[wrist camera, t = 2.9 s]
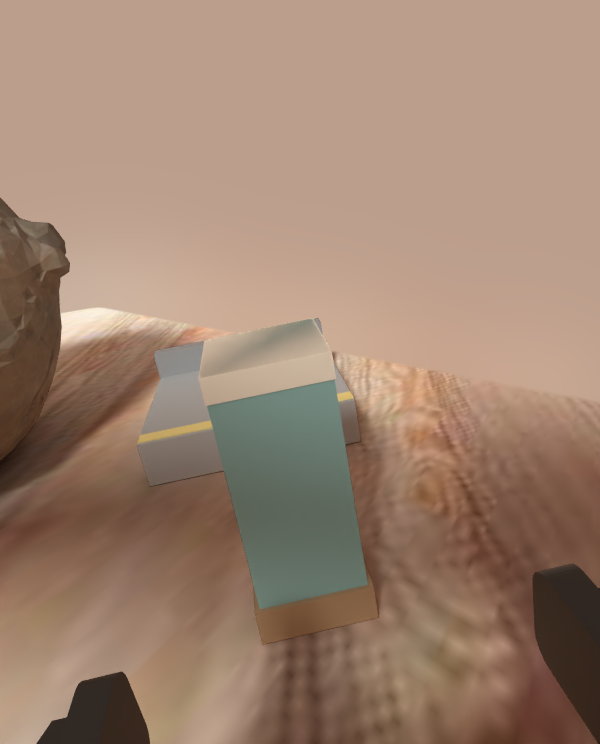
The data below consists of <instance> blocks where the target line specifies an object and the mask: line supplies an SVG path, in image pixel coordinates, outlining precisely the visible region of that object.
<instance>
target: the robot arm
mask: <svg viewBox="0 0 600 744" xmlns="http://www.w3.org/2000/svg"><path fill="white" fill-rule="evenodd" d="M533 603H534V625H535V635H536V639H537V643H538V646H539V649H540V651H541V654H542V656H543V658H544V660H545V662H546V664H547V666H548V667H549V669H550V670H551V672H552V673H553V675H554V676H555V678H556V680H557V681H558V683H559V684H560V686H561V687H562V689H563V690H564V692H565V693H566V695H567V696H568V698H569V699H570V701H571V703H572V704H573V706H574V707H575V709H576V710H577V712H578V713H579V715H580V716H581V718H582V719H583V721H584V722H585V724H586V726H587V727H588V729H589V730H590V732H591V733H592V735H593V736H594V738H595V739H596V741H597V742H598V744H600V588H597V586H596V585H595V584H594V583H593V582H592V581H591V580H590V579H589V578H588V576H587V575H586V574H585V573H584V572H583V571H582V570H581V569H580V568H579V567H578V566H576V565H575V564H568V565H564V566H560V567H556V568H552V569H548V570H544V571H540V572H535V573H534V575H533ZM37 744H150V739H149V733H148V729H147V725H146V723H145V720H144V718H143V715H142V713H141V711H140V708H139V706H138V703H137V701H136V698H135V696H134V694H133V691H132V689H131V686H130V684H129V681H128V679H127V677H126V675H125V674H124V673H123V672H118V673H114V674H109V675H105V676H101V677H97V678H93V679H89V680H85V681H81V682H80V683H79V684H78V686H77V688H76V690H75V693H74V696H73V700H72V703H71V706H70V709H69V713H68V716H67V717H66V718H62V719H58V720H54V721H52V722H51V723H50V725H49V726H48V728H47V729H46V731H45V732H44V733H43V735H42V736H41V738H40V739H39V741H38V742H37Z"/></svg>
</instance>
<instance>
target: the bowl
mask: <svg viewBox="0 0 600 744" xmlns="http://www.w3.org/2000/svg"><path fill="white" fill-rule="evenodd" d="M65 254H66V249H65V241H64V240H63V239H62V237H61V236H60V235H59V233H58V232H57V231H56V229H55V228H54V227H53V226H52V225H51V224H50V223H41V222H31V221H27V220H23V219H21V218H19V217H18V216H17V215H16V214H15V213H14V212H13V210H11V208H10V207H8V205H7V204H6V203H5V202H4V201H3V200H2V199H1V198H0V461H1V460H2V459H3V458H4V457H6V456H7V455H8V454H9V453H10V452H11V451H12V450H13V449H14V448H15V447H16V446H17V445H18V444H19V442H20V441H21V440H22V439H23V438H24V437H25V436H26V434H27V433H28V432H29V430H30V429H31V428H32V426H33V425H34V424H35V422H36V421H37V420H38V418H39V416H40V413H41V410H42V408H43V405H44V402H45V400H46V397H47V395H48V392H49V389H50V386H51V383H52V380H53V377H54V373H55V369H56V364H57V360H58V355H59V350H60V341H61V327H62V326H61V316H60V306H59V305H60V304H59V287H60V278H61V277H62V276H64V275H65V274H66V273H68V272H69V268H70V263H69V261H68V259H67V258H66V257H65Z"/></svg>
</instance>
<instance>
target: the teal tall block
mask: <svg viewBox="0 0 600 744" xmlns="http://www.w3.org/2000/svg"><path fill="white" fill-rule="evenodd" d="M335 379H336V374H335V368H334V362H333V356H332V351H331V349H330V348H329V346H328V344H327V342H326V341H325V339H324V337H323V335H322V334H321V332H320V330H319V328H318V327H317V325H316V323H315V321H314V320H313V318H311V319H306V320H301V321H297V322H291V323H286V324H282V325H277V326H271V327H266V328H262V329H256V330H252V331H247V332H242V333H237V334H232V335H227V336H222V337H217V338H212V339H207V340H204V346H203V352H202V358H201V365H200V371H199V377H198V380H199V384H200V388H201V392H202V395H203V399H204V403H205V406H207V408H208V412H209V416H210V419H211V423H212V427H213V431H214V435H215V439H216V443H217V446H218V450H219V454H220V458H221V462H222V466H223V470H224V473H225V477H226V481H227V485H228V489H229V493H230V497H231V500H232V504H233V508H234V512H235V516H236V520H237V524H238V527H239V531H240V535H241V539H242V543H243V547H244V551H245V554H246V558H247V562H248V566H249V570H250V574H251V578H252V581H253V588H254V606H255V616H256V620H257V624H258V628H259V631H260V635H261V639H262V643H263V644H267V643H272V642H276V641H280V640H285V639H289V638H293V637H297V636H302V635H306V634H310V633H315V632H319V631H323V630H328V629H332V628H336V627H340V626H345V625H349V624H353V623H358V622H362V621H366V620H370V619H375V618H379V616H378V610H377V603H376V597H375V591H374V586H373V583H372V580H371V577H370V574H369V571H368V569H367V566H366V563H365V560H364V557H363V552H362V545H361V539H360V533H359V527H358V521H357V515H356V508H355V502H354V496H353V490H352V484H351V477H350V471H349V465H348V459H347V453H346V447H345V440H344V434H343V428H342V422H341V416H340V409H339V403H338V397H337V391H336V385H335Z"/></svg>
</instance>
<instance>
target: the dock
mask: <svg viewBox="0 0 600 744" xmlns="http://www.w3.org/2000/svg"><path fill="white" fill-rule="evenodd" d="M313 320H314V321H315V323H316V325H317V327H318V328H319V330H320V332H321V334H322V328H321V322H320V320H319V318H315V319H313ZM203 346H204V341H201V342H196V343H191V344H186V345H181V346H176V347H171V348H166V349H161V350H156V351H155V353H154V358H155V362H156V365H157V369H158V372H159V376H160V381H159V384H158V387H157V390H156V393H155V395H154V398H153V401H152V404H151V407H150V410H149V413H148V416H147V418H146V421H145V424H144V427H143V430H142V433H141V435H140V436H139V439H138V442H137V443H138V444H137V447H138V451H139V454H140V457H141V460H142V463H143V466H144V469H145V473H146V476H147V479H148V482H149V485H150V486H154V485H159V484H163V483H168V482H173V481H177V480H182V479H187V478H191V477H196V476H201V475H205V474H210V473H215V472H219V471H224V470H223V466H222V462H221V458H220V454H219V450H218V446H217V443H216V439H215V435H214V431H213V427H212V423H211V419H210V416H209V412H208V408H207V406H205V403H204V399H203V395H202V392H201V388H200V384H199V380H198V377H199V371H200V365H201V358H202V352H203ZM334 368H335V374H336V379H335V385H336V391H337V397H338V403H339V409H340V416H341V422H342V428H343V434H344V440H345V444H350V443H355V442H359V441H361V438H360V432H359V425H358V418H357V411H356V405H355V400H354V397H353V395H352V393H351V391H349V389H348V387H347V385H346V383H345V381H344V380H343V378H342V376H341V374H340V372H339V371H338V369H337V367H336V365H335V363H334Z"/></svg>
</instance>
